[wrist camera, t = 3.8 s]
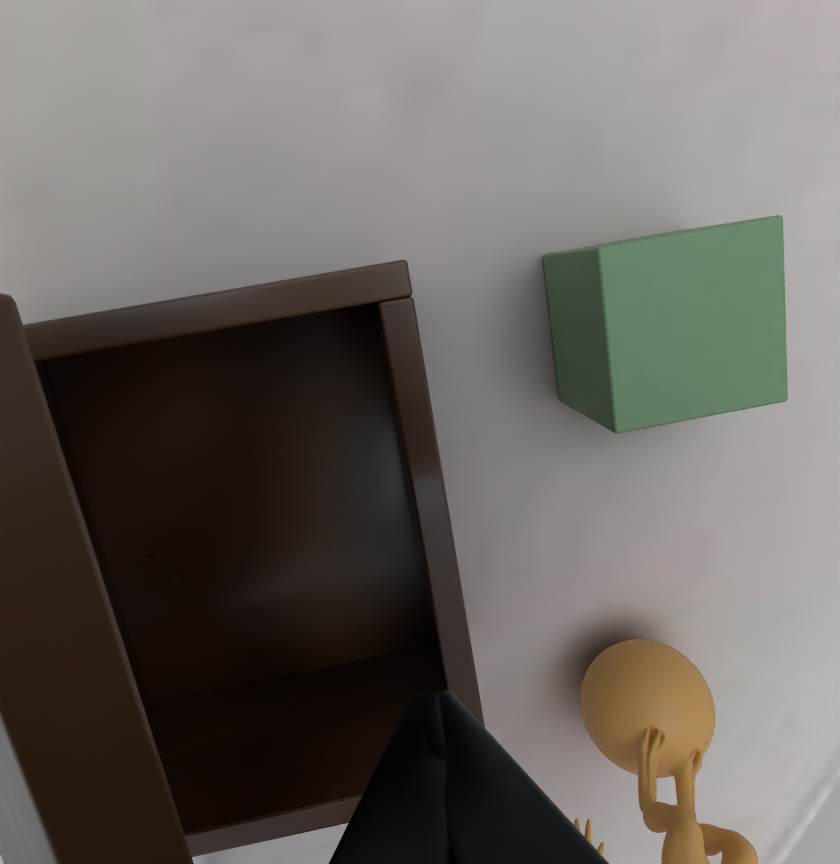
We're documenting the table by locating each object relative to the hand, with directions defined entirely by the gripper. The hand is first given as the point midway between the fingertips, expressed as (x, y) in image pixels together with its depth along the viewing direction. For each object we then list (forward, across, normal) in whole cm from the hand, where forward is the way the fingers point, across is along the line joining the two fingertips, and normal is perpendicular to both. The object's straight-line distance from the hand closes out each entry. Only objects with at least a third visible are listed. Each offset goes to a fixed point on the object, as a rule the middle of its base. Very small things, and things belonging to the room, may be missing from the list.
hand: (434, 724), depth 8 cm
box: (+12, +4, +1) cm, 13 cm away
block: (+12, -7, -3) cm, 15 cm away
